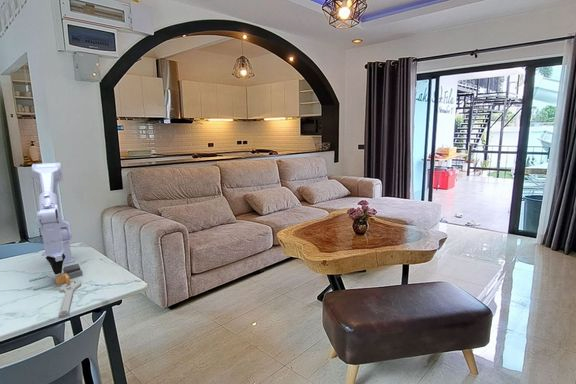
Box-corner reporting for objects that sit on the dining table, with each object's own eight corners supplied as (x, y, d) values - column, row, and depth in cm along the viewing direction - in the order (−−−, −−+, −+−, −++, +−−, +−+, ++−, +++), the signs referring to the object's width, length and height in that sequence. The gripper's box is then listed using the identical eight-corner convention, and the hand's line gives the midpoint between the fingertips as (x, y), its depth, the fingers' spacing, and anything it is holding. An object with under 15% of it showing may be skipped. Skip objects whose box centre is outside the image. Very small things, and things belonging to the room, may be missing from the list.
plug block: (65, 274, 135) (63, 266, 134) (79, 271, 138) (78, 263, 137) (66, 279, 131) (65, 270, 130) (81, 275, 134) (80, 267, 133)
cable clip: (63, 273, 136) (62, 268, 135) (77, 269, 139) (76, 264, 139) (68, 279, 130) (67, 274, 129) (82, 275, 133) (82, 270, 133)
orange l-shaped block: (56, 283, 127) (55, 275, 126) (67, 280, 129) (66, 273, 128) (59, 287, 123) (58, 280, 123) (70, 284, 126) (69, 277, 125)
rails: (29, 281, 129) (29, 280, 129) (47, 276, 133) (47, 275, 133) (33, 291, 121) (33, 289, 121) (53, 285, 125) (53, 284, 125)
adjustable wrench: (68, 317, 105) (67, 312, 104) (44, 322, 102) (43, 317, 102) (82, 283, 127) (82, 279, 127) (63, 286, 125) (62, 282, 125)
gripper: (36, 237, 127) (41, 270, 130) (43, 247, 117) (49, 283, 120) (58, 233, 132) (63, 265, 135) (66, 242, 122) (71, 276, 125)
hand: (58, 273), depth 128 cm, fingers closed
